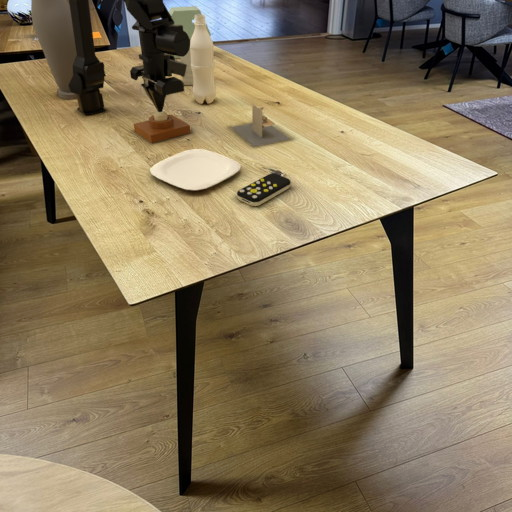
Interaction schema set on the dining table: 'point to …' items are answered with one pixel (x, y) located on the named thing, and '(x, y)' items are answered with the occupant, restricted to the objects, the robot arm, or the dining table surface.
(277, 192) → the remote control
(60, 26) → the vase
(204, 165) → the plate
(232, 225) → the dining table surface
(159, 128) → the base
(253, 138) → the architectural model
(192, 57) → the water bottle
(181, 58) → the light grey tall block
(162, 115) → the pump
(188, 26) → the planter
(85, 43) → the robot arm
